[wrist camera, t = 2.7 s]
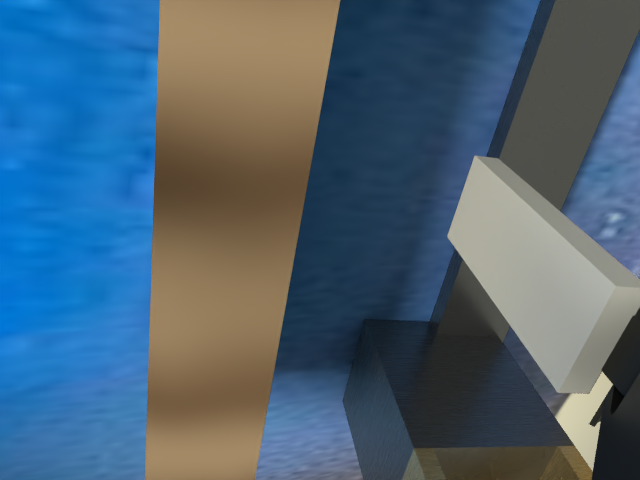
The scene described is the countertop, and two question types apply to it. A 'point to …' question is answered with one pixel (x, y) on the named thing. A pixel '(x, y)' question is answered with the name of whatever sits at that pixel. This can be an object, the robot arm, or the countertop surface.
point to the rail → (227, 220)
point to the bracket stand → (473, 301)
